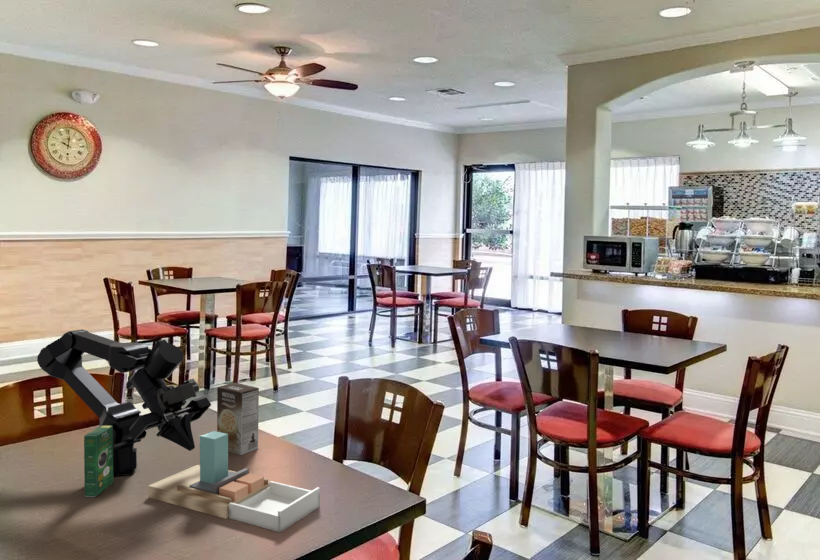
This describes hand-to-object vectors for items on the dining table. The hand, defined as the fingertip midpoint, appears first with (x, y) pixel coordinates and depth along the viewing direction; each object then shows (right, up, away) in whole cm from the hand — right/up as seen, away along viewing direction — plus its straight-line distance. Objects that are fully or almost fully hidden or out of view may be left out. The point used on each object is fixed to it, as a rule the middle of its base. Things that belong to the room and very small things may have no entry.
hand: (192, 449), depth 141 cm
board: (+4, -9, -1) cm, 10 cm away
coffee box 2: (+2, -7, +28) cm, 29 cm away
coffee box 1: (-20, -9, 0) cm, 22 cm away
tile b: (+11, -8, -8) cm, 15 cm away
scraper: (+7, -7, -3) cm, 10 cm away
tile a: (+13, -7, -3) cm, 15 cm away
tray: (+19, -10, -9) cm, 24 cm away
